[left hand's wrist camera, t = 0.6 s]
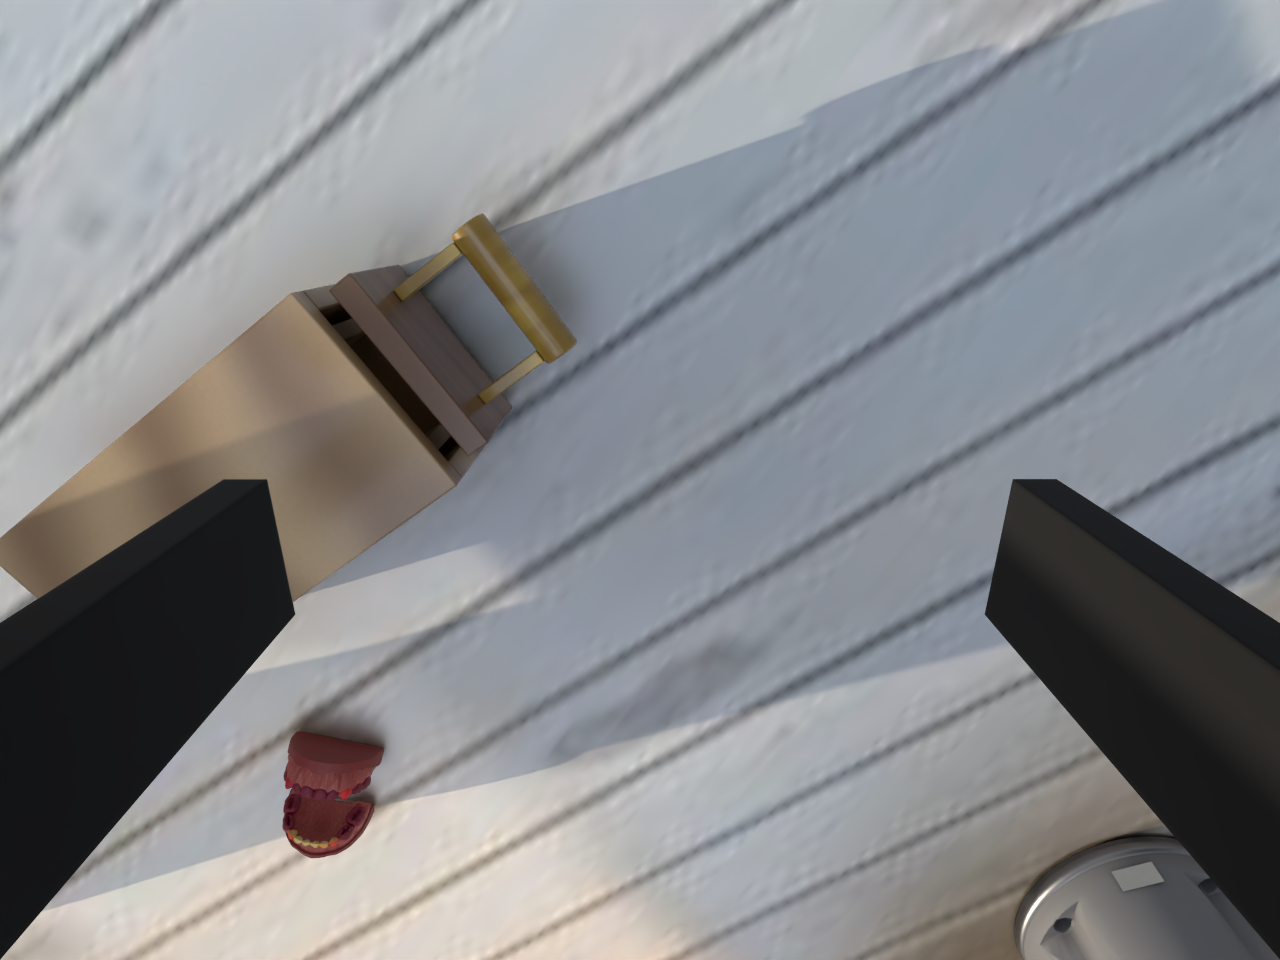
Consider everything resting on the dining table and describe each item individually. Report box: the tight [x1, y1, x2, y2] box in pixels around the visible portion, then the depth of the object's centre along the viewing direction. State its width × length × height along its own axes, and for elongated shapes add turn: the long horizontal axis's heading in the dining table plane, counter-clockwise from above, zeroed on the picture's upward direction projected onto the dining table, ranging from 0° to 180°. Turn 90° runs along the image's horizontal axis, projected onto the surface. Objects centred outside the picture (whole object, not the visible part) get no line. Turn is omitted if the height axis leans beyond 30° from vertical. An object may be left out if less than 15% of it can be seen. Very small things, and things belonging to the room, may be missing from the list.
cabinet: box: [0, 284, 486, 602], centre depth 34 cm, size 20×10×8 cm, turn 125°
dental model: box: [283, 731, 384, 858], centre depth 44 cm, size 6×4×8 cm
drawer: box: [330, 214, 577, 456], centre depth 33 cm, size 24×9×6 cm, turn 126°
